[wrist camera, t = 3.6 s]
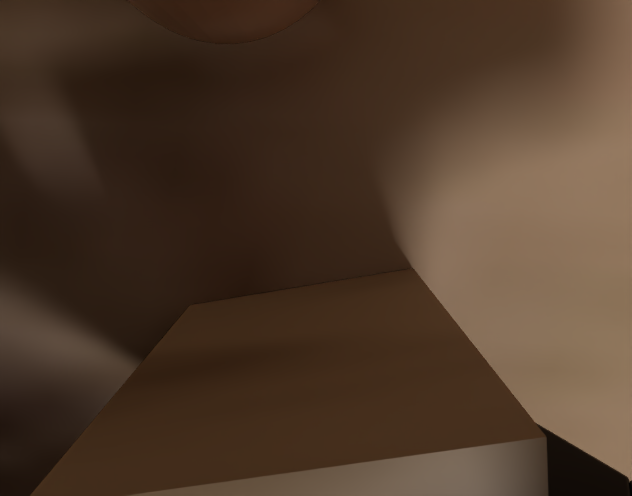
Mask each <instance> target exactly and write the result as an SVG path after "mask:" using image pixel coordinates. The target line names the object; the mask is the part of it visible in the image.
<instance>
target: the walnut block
mask: <svg viewBox="0 0 632 496" xmlns="http://www.w3.org/2000/svg"><path fill="white" fill-rule="evenodd" d="M30 496H548V467H547V438H546V436H545V434H544V433H543V432H542V431H541V429H540V428H539V427H538V426H537V424H536V423H535V422H534V421H533V419H532V418H531V417H530V415H529V414H528V413H527V412H526V410H525V409H524V408H523V407H522V405H521V404H520V403H519V402H518V400H517V399H516V398H515V397H514V395H513V394H512V393H511V391H510V390H509V389H508V388H507V386H506V385H505V384H504V383H503V381H502V380H501V379H500V378H499V376H498V375H497V374H496V372H495V371H494V370H493V369H492V367H491V366H490V365H489V364H488V362H487V361H486V360H485V359H484V357H483V356H482V355H481V354H480V352H479V351H478V350H477V348H476V347H475V346H474V345H473V343H472V342H471V341H470V340H469V338H468V337H467V336H466V335H465V333H464V332H463V331H462V330H461V328H460V327H459V326H458V324H457V323H456V322H455V321H454V319H453V318H452V317H451V316H450V314H449V313H448V312H447V311H446V309H445V308H444V307H443V305H442V304H441V303H440V302H439V300H438V299H437V298H436V297H435V295H434V294H433V293H432V292H431V290H430V289H429V288H428V287H427V285H426V284H425V283H424V281H423V280H422V279H421V278H420V276H419V275H418V274H417V273H416V271H415V270H414V269H413V268H412V269H406V270H400V271H394V272H388V273H382V274H376V275H369V276H363V277H357V278H351V279H345V280H339V281H333V282H327V283H321V284H315V285H309V286H303V287H297V288H291V289H285V290H279V291H273V292H267V293H261V294H255V295H249V296H243V297H237V298H230V299H224V300H218V301H212V302H206V303H200V304H194V305H190V306H189V307H188V308H187V309H186V310H185V312H184V313H183V314H182V315H181V316H180V318H179V319H178V320H177V321H176V322H175V324H174V325H173V326H172V327H171V328H170V329H169V331H168V332H167V333H166V334H165V335H164V337H163V338H162V339H161V340H160V341H159V343H158V344H157V345H156V346H155V347H154V349H153V350H152V351H151V352H150V353H149V354H148V356H147V357H146V358H145V359H144V360H143V362H142V363H141V364H140V365H139V366H138V368H137V369H136V370H135V371H134V372H133V374H132V375H131V376H130V377H129V378H128V379H127V381H126V382H125V383H124V384H123V385H122V387H121V388H120V389H119V390H118V391H117V393H116V394H115V395H114V396H113V397H112V399H111V400H110V401H109V402H108V403H107V404H106V406H105V407H104V408H103V409H102V410H101V412H100V413H99V414H98V415H97V416H96V418H95V419H94V420H93V421H92V422H91V424H90V425H89V426H88V427H87V428H86V429H85V431H84V432H83V433H82V434H81V435H80V437H79V438H78V439H77V440H76V441H75V443H74V444H73V445H72V446H71V447H70V449H69V450H68V451H67V452H66V453H65V454H64V456H63V457H62V458H61V459H60V460H59V462H58V463H57V464H56V465H55V466H54V468H53V469H52V470H51V471H50V472H49V474H48V475H47V476H46V477H45V478H44V479H43V481H42V482H41V483H40V484H39V485H38V487H37V488H36V489H35V490H34V491H33V493H32V494H31V495H30Z"/></svg>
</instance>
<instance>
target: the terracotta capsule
mask: <svg viewBox="0 0 632 496" xmlns="http://www.w3.org/2000/svg"><path fill="white" fill-rule="evenodd" d="M127 1H128V2H130V3H131V4H132V5H133V6H135V7H136V8H137V9H139V10H140V11H141V12H142V13H144V14H145V15H146V16H148V17H149V18H150V19H152V20H154V21H155V22H157V23H158V24H160V25H161V26H163V27H165V28H167V29H169V30H171V31H173V32H175V33H177V34H180V35H182V36H185V37H188V38H191V39H195V40H198V41H203V42H209V43H216V44H236V43H244V42H251V41H254V40H258V39H262V38H265V37H268V36H270V35H273V34H275V33H277V32H279V31H282V30H284V29H285V28H287V27H288V26H290V25H292V24H293V23H295V22H296V21H298V20H299V19H300V18H302V17H303V16H304V15H305V14H306V13H308V12H309V11H310V10H311V9H312V8H313V7H314V6H315V5H316V4H317V3H318V2H319V1H320V0H127Z"/></svg>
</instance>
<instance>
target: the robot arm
mask: <svg viewBox="0 0 632 496" xmlns="http://www.w3.org/2000/svg"><path fill="white" fill-rule="evenodd" d="M536 424H537V423H536ZM537 426H538V427H539V428H540V429H541V431H542V432H543V433H544V434H545V436H546V438H547V467H548V496H632V481H630V483H629V479H628V477H627V476H625V475H623V474H622V473H620V472H618V471H617V470H615V469H613V468H611V467H610V466H608V465H606V464H605V463H603V462H601V461H600V460H598V459H596V458H594V457H593V456H591V455H589V454H588V453H586V452H584V451H583V450H581V449H579V448H577V447H576V446H574V445H572V444H571V443H569V442H567V441H566V440H564V439H562V438H560V437H559V436H557V435H555V434H554V433H552V432H550V431H549V430H547V429H545V428H543V427H542V426H540V425H538V424H537Z"/></svg>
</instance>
